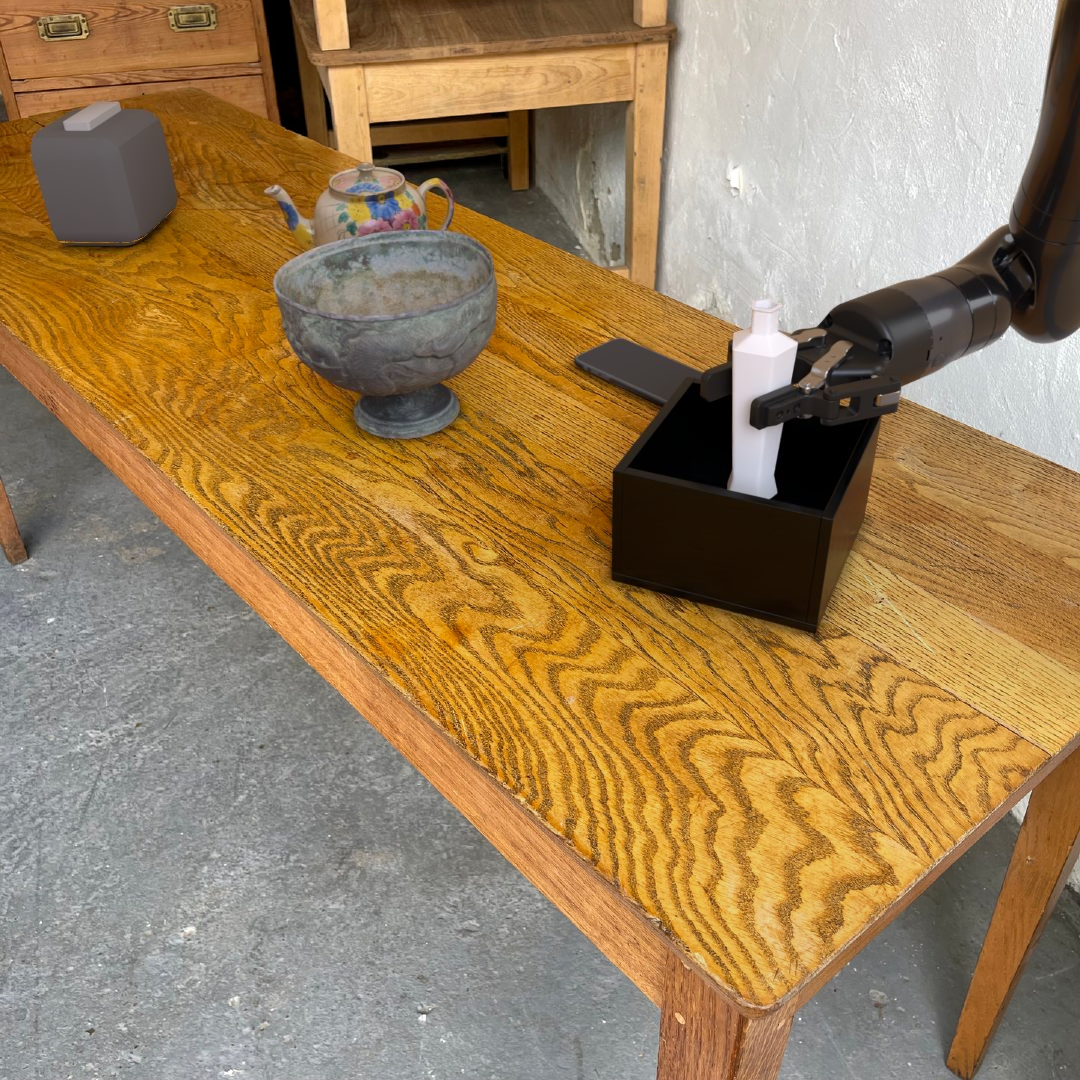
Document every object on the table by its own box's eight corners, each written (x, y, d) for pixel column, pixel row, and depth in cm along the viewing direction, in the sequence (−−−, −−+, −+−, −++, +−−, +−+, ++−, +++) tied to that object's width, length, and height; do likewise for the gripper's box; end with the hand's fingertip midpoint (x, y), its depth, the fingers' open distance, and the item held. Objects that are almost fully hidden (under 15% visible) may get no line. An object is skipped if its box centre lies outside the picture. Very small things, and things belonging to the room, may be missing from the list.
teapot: (409, 239, 144) (399, 134, 136) (470, 268, 135) (463, 158, 127) (271, 279, 134) (252, 169, 126) (327, 313, 125) (310, 197, 117)
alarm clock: (111, 209, 157) (81, 94, 148) (188, 210, 156) (163, 94, 146) (59, 252, 143) (23, 128, 134) (142, 253, 142) (112, 128, 133)
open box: (864, 519, 89) (882, 412, 83) (815, 634, 78) (833, 519, 72) (681, 478, 95) (686, 376, 89) (610, 580, 84) (612, 470, 78)
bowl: (291, 383, 111) (266, 239, 103) (479, 357, 115) (469, 215, 106) (307, 484, 96) (279, 324, 87) (524, 450, 99) (517, 293, 91)
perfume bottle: (743, 468, 86) (757, 285, 77) (790, 488, 83) (810, 301, 74) (705, 491, 83) (716, 305, 75) (753, 513, 81) (769, 323, 72)
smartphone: (682, 409, 103) (569, 357, 112) (681, 418, 103) (569, 366, 112) (732, 383, 107) (619, 334, 116) (731, 391, 108) (619, 343, 116)
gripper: (831, 261, 87) (663, 318, 80) (983, 320, 77) (808, 391, 70) (821, 348, 92) (661, 410, 84) (963, 414, 82) (796, 491, 74)
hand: (729, 401), depth 77 cm, fingers closed on perfume bottle, 4 cm apart
